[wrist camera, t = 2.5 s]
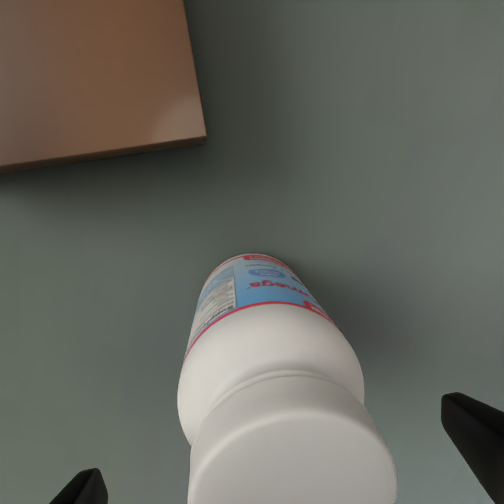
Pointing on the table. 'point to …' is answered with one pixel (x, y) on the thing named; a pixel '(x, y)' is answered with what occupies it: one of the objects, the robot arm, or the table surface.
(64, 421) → the table surface
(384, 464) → the pill bottle
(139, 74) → the walnut platform
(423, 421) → the table surface
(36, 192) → the table surface
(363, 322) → the table surface
